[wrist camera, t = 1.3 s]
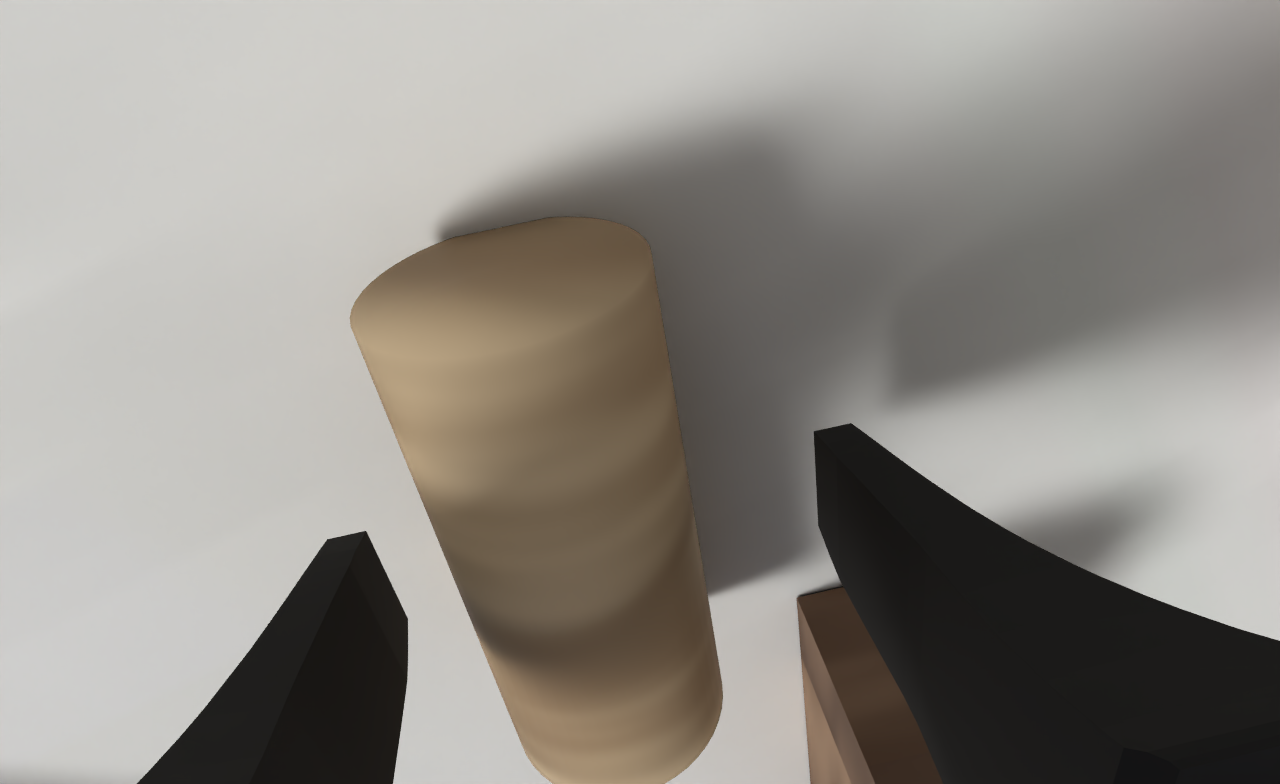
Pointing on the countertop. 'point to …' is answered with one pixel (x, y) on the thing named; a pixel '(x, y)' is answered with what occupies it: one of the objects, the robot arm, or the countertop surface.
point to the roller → (556, 485)
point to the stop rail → (854, 702)
